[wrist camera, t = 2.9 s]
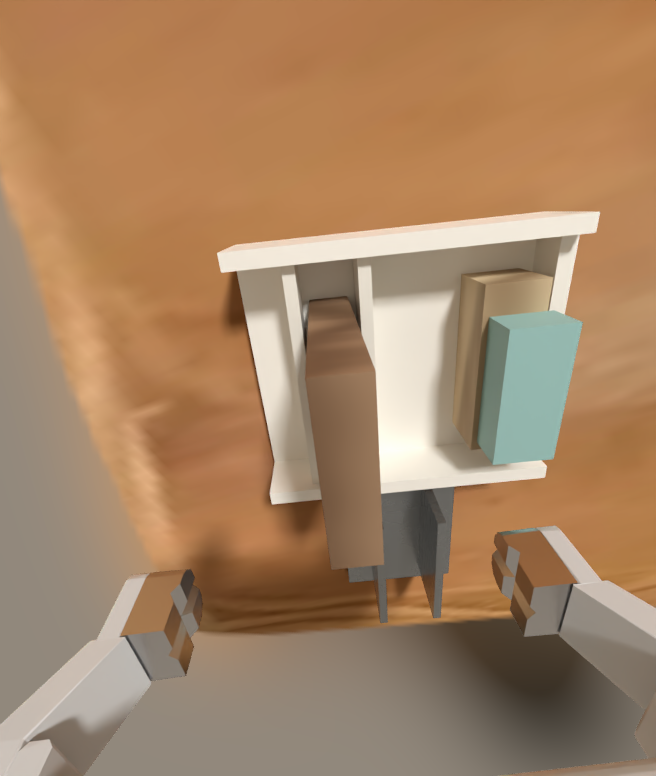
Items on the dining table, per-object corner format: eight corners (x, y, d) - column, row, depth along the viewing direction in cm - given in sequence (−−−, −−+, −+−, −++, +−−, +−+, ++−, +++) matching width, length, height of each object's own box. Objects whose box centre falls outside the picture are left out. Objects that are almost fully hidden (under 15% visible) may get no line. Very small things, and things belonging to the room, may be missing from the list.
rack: (545, 211, 19) (600, 211, 15) (511, 438, 25) (544, 477, 21) (235, 244, 19) (217, 253, 15) (278, 462, 25) (271, 504, 21)
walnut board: (347, 295, 19) (375, 371, 10) (356, 424, 23) (384, 564, 14) (309, 299, 19) (304, 378, 10) (324, 427, 23) (331, 569, 14)
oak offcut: (519, 267, 19) (553, 277, 16) (500, 417, 23) (525, 444, 20) (461, 274, 19) (485, 284, 16) (452, 421, 23) (470, 450, 20)
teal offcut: (553, 310, 17) (582, 322, 15) (531, 436, 20) (553, 458, 18) (489, 316, 17) (509, 329, 15) (477, 442, 20) (492, 465, 18)
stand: (451, 456, 25) (480, 507, 21) (445, 564, 30) (466, 623, 26) (337, 468, 25) (341, 520, 21) (348, 573, 30) (354, 634, 26)
